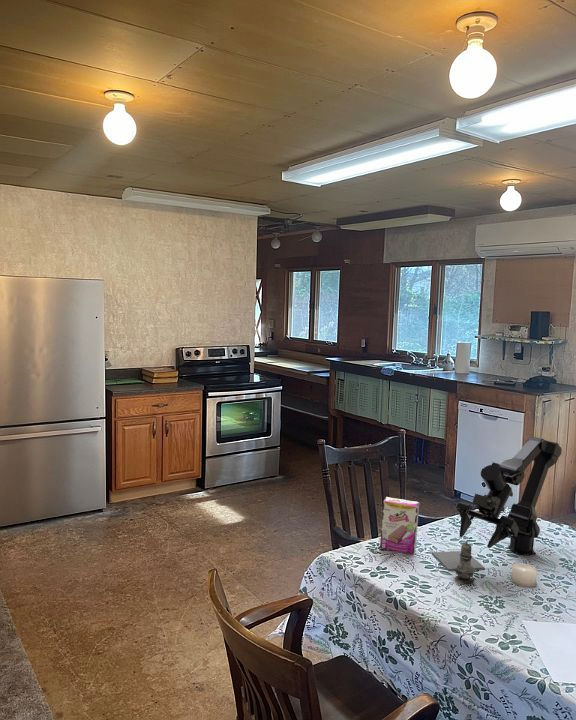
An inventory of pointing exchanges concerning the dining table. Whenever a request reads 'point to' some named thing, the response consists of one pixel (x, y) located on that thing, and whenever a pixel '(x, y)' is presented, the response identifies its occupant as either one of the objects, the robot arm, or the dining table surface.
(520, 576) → the cream rounded squat cylinder
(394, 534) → the candy bar box
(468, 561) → the grey chess piece
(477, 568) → the mat
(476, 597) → the dining table surface
